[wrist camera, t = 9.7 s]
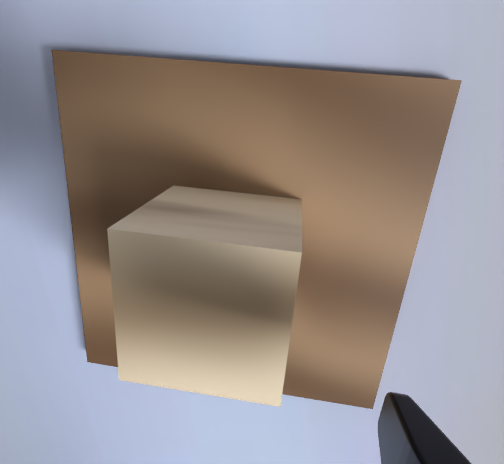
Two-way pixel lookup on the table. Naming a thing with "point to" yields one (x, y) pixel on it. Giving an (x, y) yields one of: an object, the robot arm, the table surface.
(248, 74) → the walnut board
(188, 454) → the table surface
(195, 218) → the maple cube
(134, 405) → the table surface
